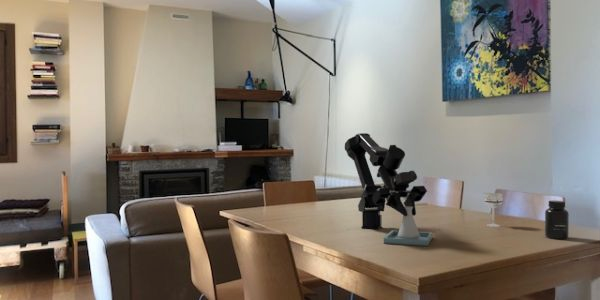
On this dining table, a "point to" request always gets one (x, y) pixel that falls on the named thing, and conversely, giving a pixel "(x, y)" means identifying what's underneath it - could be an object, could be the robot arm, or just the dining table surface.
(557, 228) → the supplement bottle
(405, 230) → the flask
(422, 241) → the tray
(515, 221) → the dining table surface
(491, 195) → the wineglass
